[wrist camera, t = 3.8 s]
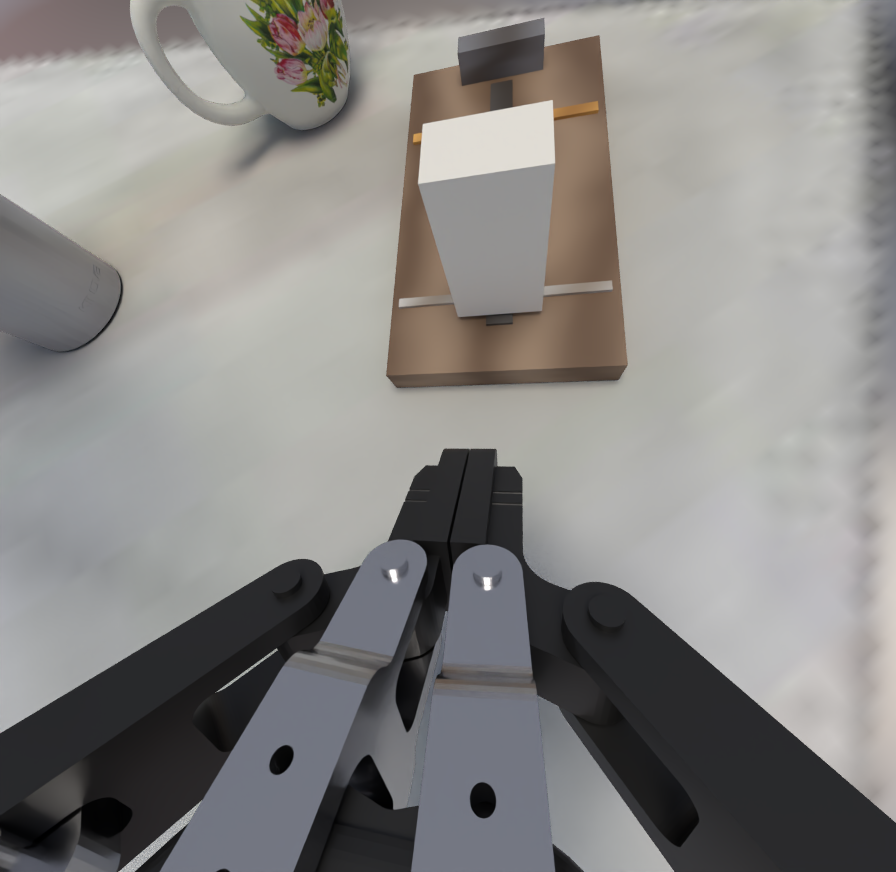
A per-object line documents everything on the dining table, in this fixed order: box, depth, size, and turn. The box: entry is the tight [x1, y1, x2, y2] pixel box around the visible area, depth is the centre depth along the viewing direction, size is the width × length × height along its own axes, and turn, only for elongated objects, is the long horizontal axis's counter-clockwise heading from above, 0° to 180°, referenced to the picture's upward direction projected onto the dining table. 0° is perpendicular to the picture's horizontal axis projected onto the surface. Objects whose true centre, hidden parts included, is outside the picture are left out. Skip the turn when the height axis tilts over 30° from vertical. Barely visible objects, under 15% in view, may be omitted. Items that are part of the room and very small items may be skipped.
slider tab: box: [418, 100, 555, 317], centre depth 18 cm, size 5×3×9 cm, turn 87°
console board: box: [386, 18, 627, 388], centre depth 24 cm, size 14×26×4 cm, turn 177°
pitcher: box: [130, 0, 350, 130], centre depth 27 cm, size 11×18×14 cm, turn 137°
